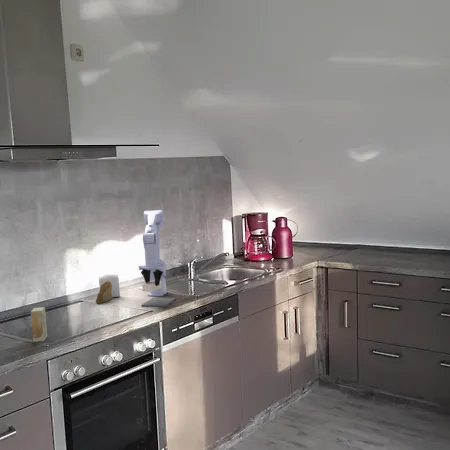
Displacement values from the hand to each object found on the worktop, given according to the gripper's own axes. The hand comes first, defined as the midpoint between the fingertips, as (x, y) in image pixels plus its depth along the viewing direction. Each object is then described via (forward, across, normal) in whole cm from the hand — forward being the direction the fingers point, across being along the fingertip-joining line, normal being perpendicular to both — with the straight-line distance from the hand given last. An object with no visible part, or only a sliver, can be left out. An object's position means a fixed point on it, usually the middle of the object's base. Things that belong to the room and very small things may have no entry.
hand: (152, 285), depth 276 cm
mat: (+9, +2, +1) cm, 9 cm away
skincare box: (+9, -6, -66) cm, 67 cm away
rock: (+9, -28, -5) cm, 30 cm away
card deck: (+2, 0, 0) cm, 2 cm away
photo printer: (+9, -30, +3) cm, 32 cm away
